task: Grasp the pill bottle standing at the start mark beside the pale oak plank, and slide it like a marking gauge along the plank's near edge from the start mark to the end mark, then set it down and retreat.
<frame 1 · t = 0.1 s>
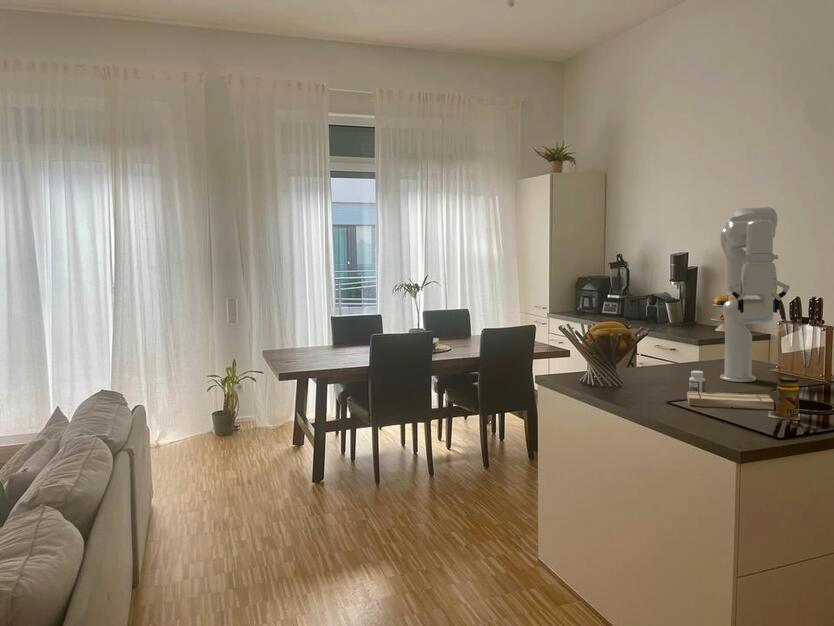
hand: (758, 312, 203), 31 cm above the counter, fingers open, 9 cm apart
pill bottle: (697, 396, 223), on the counter
condiment: (783, 416, 194), on the counter
plank: (728, 403, 211), on the counter
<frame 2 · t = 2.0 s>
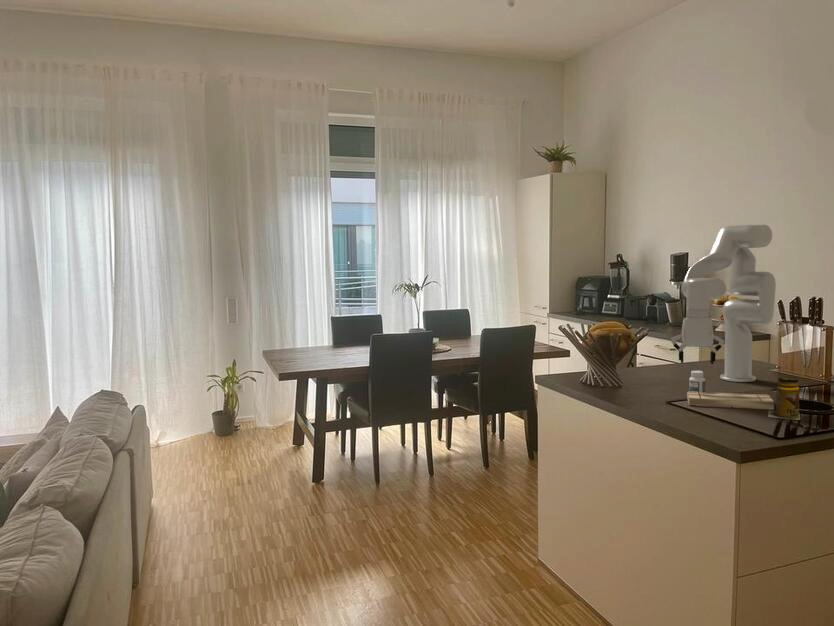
hand: (696, 362, 221), 12 cm above the counter, fingers open, 9 cm apart
nothing on the counter moved.
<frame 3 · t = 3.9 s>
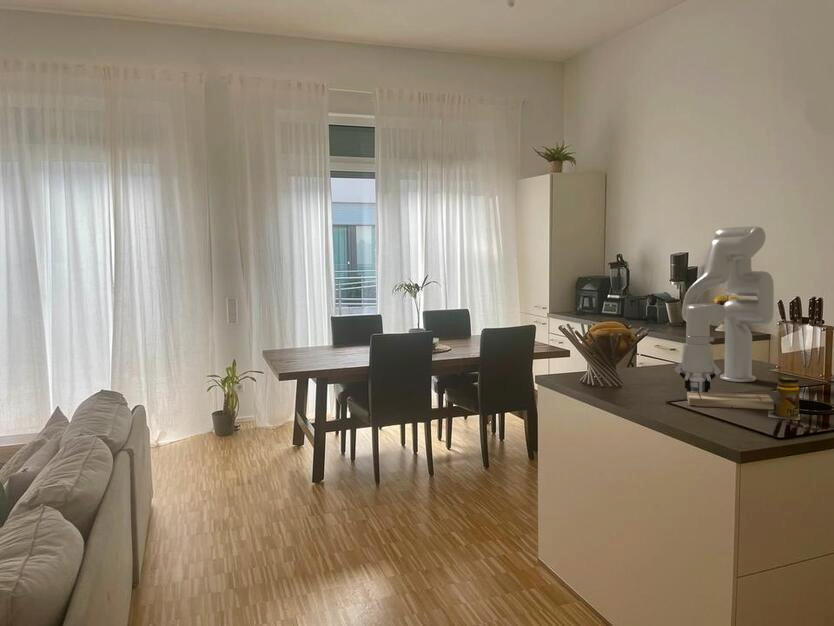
hand: (697, 390, 223), 2 cm above the counter, fingers closed on pill bottle, 5 cm apart
pill bottle: (697, 396, 223), on the counter, touching gripper
everything else where it was.
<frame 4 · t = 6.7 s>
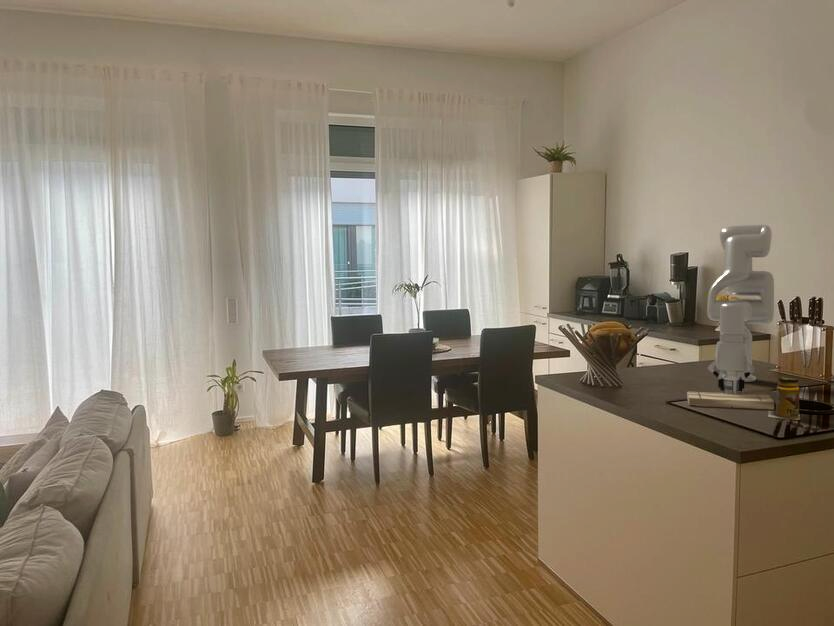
hand: (731, 389, 219), 3 cm above the counter, fingers closed on pill bottle, 5 cm apart
pill bottle: (730, 395, 219), point 1 cm above the counter, touching gripper
everything else where it was.
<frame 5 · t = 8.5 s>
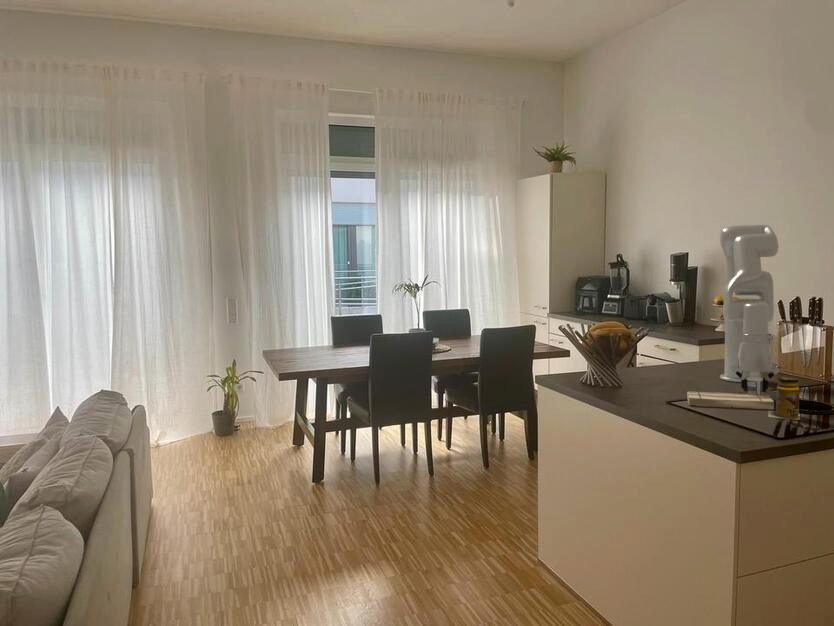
hand: (754, 390, 217), 3 cm above the counter, fingers closed on pill bottle, 5 cm apart
pill bottle: (754, 396, 217), point 1 cm above the counter, touching gripper
everything else where it was.
when the fingers open (2 cm above the counter, at t = 9.6 s): pill bottle stays where it is, on the counter.
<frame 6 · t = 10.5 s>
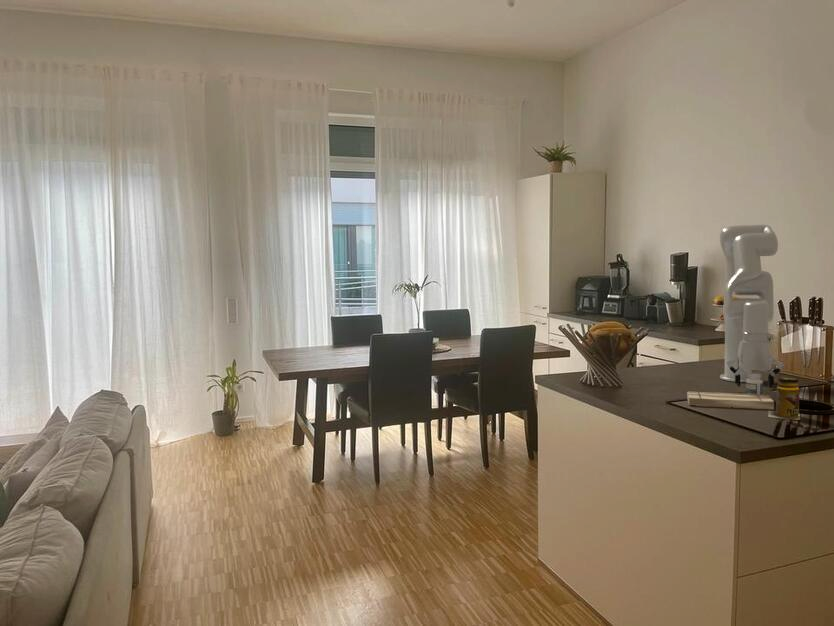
hand: (753, 386, 217), 4 cm above the counter, fingers open, 9 cm apart
pill bottle: (754, 399, 217), on the counter
everything else where it was.
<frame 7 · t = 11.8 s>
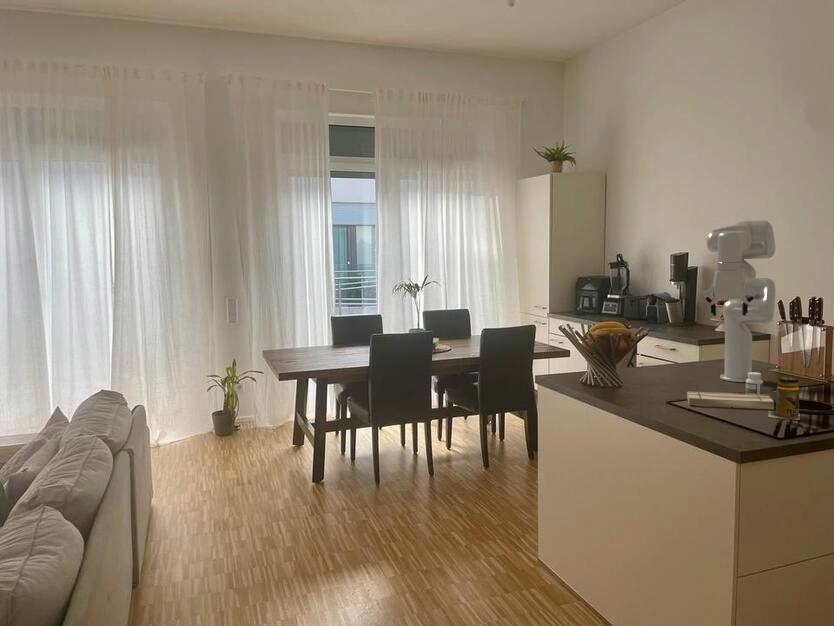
hand: (728, 315, 224), 28 cm above the counter, fingers open, 9 cm apart
nothing on the counter moved.
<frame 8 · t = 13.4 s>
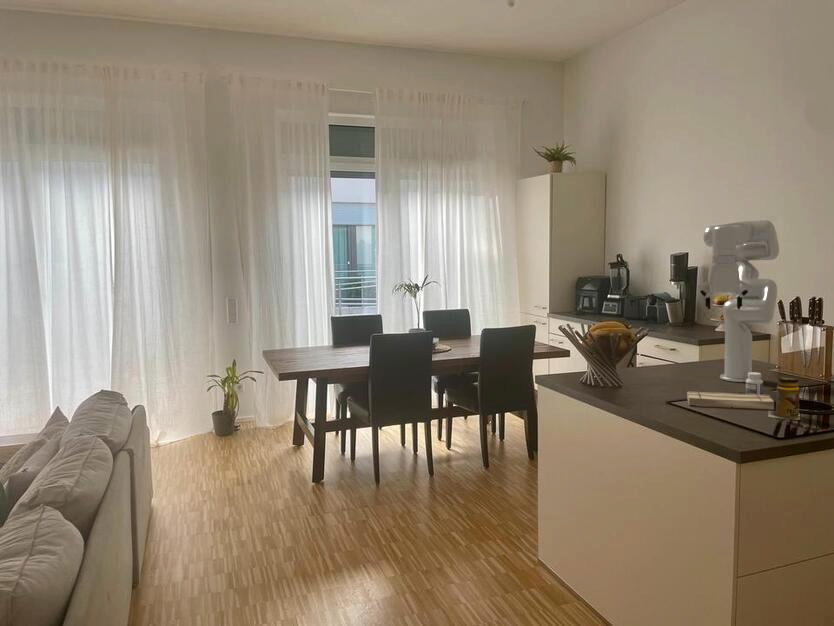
hand: (723, 308, 225), 30 cm above the counter, fingers open, 9 cm apart
nothing on the counter moved.
at the end: pill bottle 0.1 cm from the target spot, on the counter; pill bottle tilted 0°; the gripper is holding nothing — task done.
